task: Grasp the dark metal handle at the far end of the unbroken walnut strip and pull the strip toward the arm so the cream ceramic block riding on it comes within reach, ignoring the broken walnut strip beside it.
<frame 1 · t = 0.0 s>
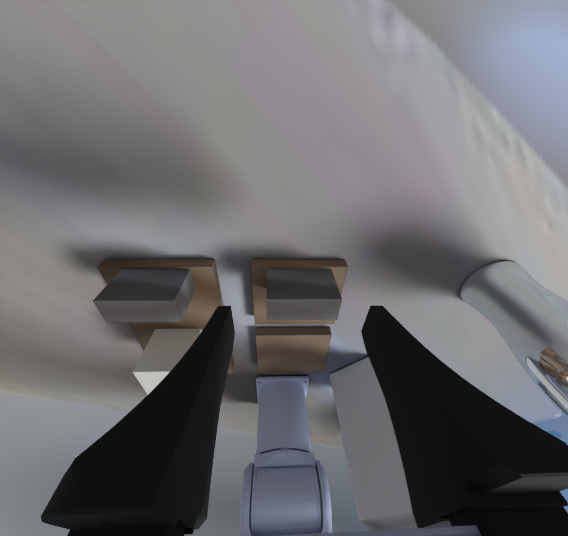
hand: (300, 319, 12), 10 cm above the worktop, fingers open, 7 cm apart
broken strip: (293, 321, 27), on the worktop
ceramic block: (183, 342, 27), point 1 cm above the worktop, touching walnut strip
walnut strip: (175, 342, 24), point 3 cm above the worktop, slide at 0.0 cm, touching ceramic block
silver drinking tumbler: (487, 282, 25), on the worktop
milk carton: (360, 372, 35), on the worktop
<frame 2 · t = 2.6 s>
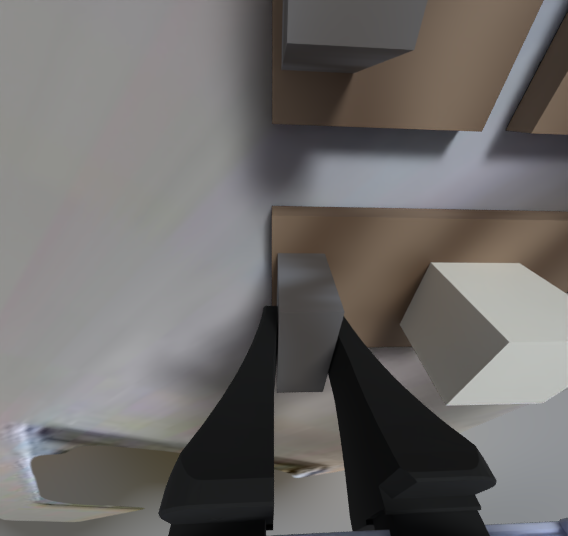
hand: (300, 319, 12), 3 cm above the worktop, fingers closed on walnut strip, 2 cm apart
ceramic block: (453, 296, 14), point 1 cm above the worktop, touching walnut strip
walnut strip: (435, 314, 12), point 3 cm above the worktop, slide at 0.0 cm, touching ceramic block, gripper
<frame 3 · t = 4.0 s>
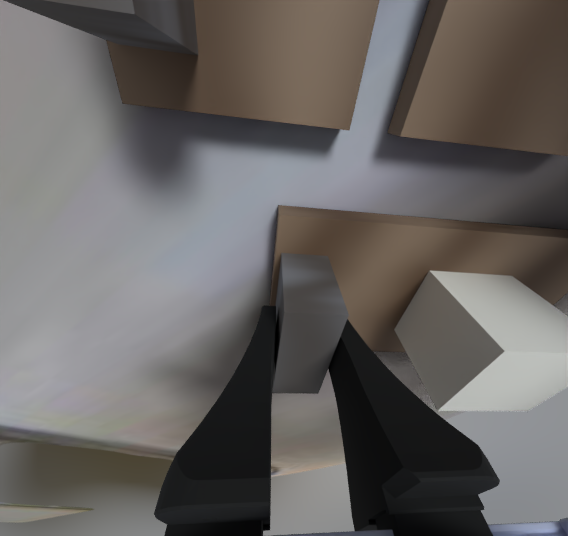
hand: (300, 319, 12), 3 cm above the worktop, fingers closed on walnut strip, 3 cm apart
ceramic block: (447, 305, 14), point 1 cm above the worktop, touching walnut strip
walnut strip: (430, 321, 13), point 3 cm above the worktop, slide at 5.7 cm, touching ceramic block, gripper
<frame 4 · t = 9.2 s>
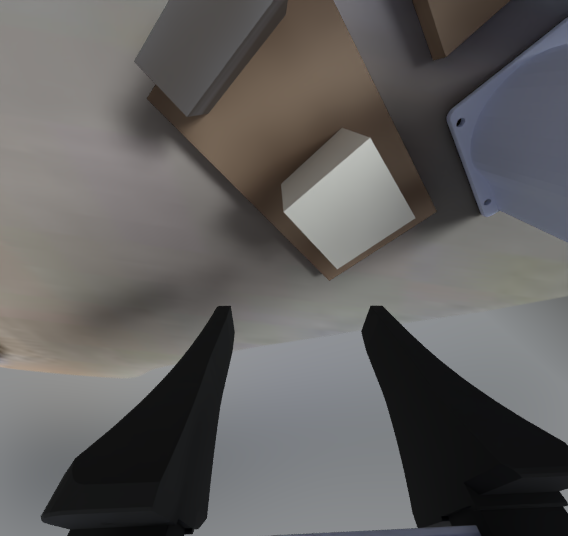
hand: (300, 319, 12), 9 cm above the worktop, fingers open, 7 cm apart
ceramic block: (331, 186, 16), point 1 cm above the worktop, touching walnut strip
walnut strip: (317, 168, 14), point 3 cm above the worktop, slide at 8.5 cm, touching ceramic block
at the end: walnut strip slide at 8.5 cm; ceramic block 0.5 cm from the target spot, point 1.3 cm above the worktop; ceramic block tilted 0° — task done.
